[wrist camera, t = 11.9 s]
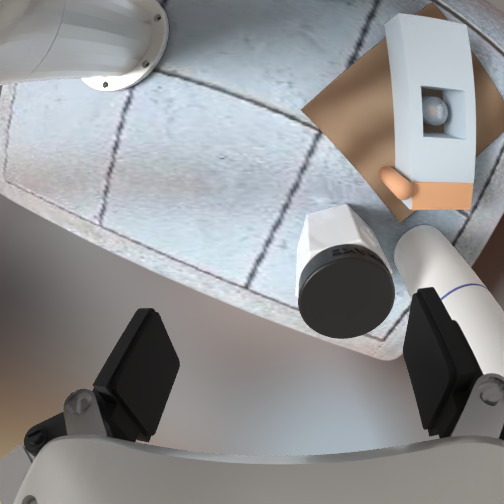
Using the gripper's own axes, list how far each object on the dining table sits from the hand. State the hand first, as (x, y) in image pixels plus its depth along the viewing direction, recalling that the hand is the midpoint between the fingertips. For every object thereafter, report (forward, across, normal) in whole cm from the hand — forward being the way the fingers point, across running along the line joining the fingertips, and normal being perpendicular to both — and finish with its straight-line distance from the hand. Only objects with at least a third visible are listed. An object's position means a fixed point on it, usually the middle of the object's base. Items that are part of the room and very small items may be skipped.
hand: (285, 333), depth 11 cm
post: (+24, -15, -6) cm, 29 cm away
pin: (+24, -10, +1) cm, 26 cm away
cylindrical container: (+24, -15, +11) cm, 30 cm away
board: (+24, -15, -6) cm, 29 cm away
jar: (+24, -4, +8) cm, 26 cm away
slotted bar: (+23, -15, -6) cm, 28 cm away
